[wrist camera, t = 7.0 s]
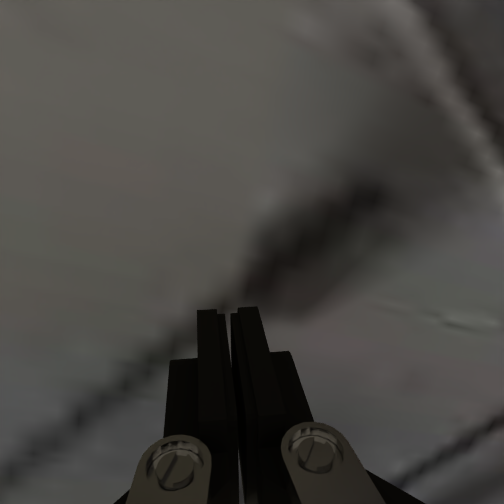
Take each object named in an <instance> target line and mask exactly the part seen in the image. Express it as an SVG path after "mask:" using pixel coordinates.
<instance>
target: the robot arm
mask: <svg viewBox="0 0 504 504" xmlns="http://www.w3.org/2000/svg"><path fill="white" fill-rule="evenodd" d="M197 342H198V358H192V359H179V360H170V365H169V377H168V389H167V401H166V413H165V425H164V437H163V439H160V440H158V441H157V442H155V443H154V444H152V445H151V446H150V447H149V448H148V449H147V450H146V451H145V452H144V453H143V455H142V457H141V459H140V461H139V463H138V466H137V469H136V472H135V475H134V478H133V482H132V485H131V488H130V490H129V491H127V492H126V493H125V494H124V495H123V496H122V497H121V498H120V499H118V500H117V501H116V502H115V503H114V504H239V472H238V450H239V459H240V468H241V476H242V485H243V493H244V502H245V504H425V503H423V502H422V501H420V500H418V499H416V498H415V497H413V496H411V495H409V494H408V493H406V492H404V491H402V490H401V489H399V488H397V487H395V486H394V485H392V484H390V483H388V482H387V481H385V480H383V479H381V478H380V477H378V476H376V475H374V474H373V473H371V472H369V471H367V470H366V469H365V468H364V467H363V465H362V464H361V462H360V460H359V459H358V457H357V455H356V454H355V452H354V450H353V449H352V447H351V445H350V444H349V442H348V441H347V439H346V438H345V437H344V436H343V435H342V433H340V432H339V431H338V430H336V429H335V428H333V427H331V426H329V425H326V424H324V423H318V422H314V420H313V417H312V414H311V411H310V408H309V405H308V402H307V399H306V397H305V394H304V391H303V388H302V385H301V382H300V379H299V376H298V373H297V370H296V367H295V364H294V361H293V359H292V356H291V353H290V352H289V351H282V352H270V351H269V347H268V344H267V340H266V336H265V332H264V329H263V325H262V321H261V318H260V314H259V310H258V307H257V306H256V307H241V308H238V313H231V360H230V352H229V344H228V337H227V329H226V321H225V314H217V309H210V310H197ZM231 366H232V368H231Z"/></svg>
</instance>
